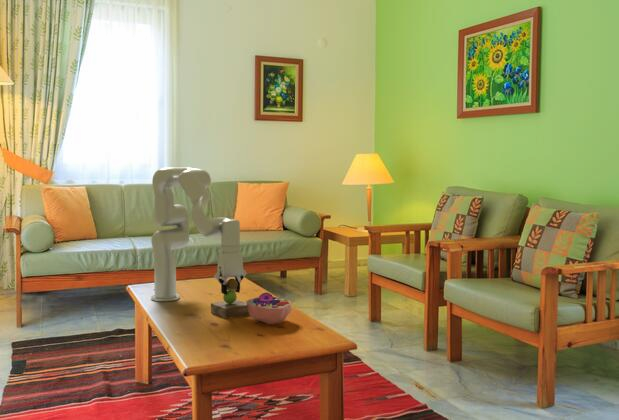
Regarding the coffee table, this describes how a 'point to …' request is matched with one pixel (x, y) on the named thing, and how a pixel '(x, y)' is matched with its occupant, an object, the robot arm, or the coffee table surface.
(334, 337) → the coffee table surface
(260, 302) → the cell model
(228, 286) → the snail figurine
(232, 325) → the coffee table surface
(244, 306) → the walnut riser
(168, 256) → the robot arm
